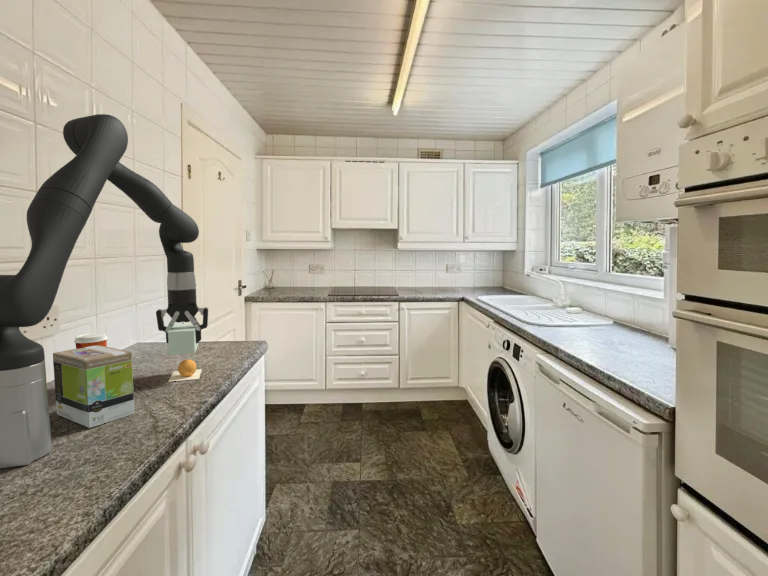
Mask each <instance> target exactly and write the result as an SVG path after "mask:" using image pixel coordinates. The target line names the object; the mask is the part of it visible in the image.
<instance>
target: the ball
mask: <svg viewBox="0 0 768 576" xmlns="http://www.w3.org/2000/svg"><path fill="white" fill-rule="evenodd" d="M196 370H197V363H196V362H195V361H194V360H193V359H189V358H187V359H183V360H181V362H179V364H178V366H177V371H178V372H179V373H180V374H181V375H182V376H185V377H187V376H191V375H193V374H194V373H195V371H196Z"/></svg>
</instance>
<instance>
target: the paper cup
mask: <svg viewBox="0 0 768 576" xmlns="http://www.w3.org/2000/svg"><path fill="white" fill-rule="evenodd" d="M108 339H109V337H108V336H107V334H106V333H104V332H89V333H82V334H79V335H76V336H75V338H74V340H73V343H75V349H78V348H84V347H90V346H96V345H100V346H105V347H108V345H107V344H108V343H107V341H108Z"/></svg>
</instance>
